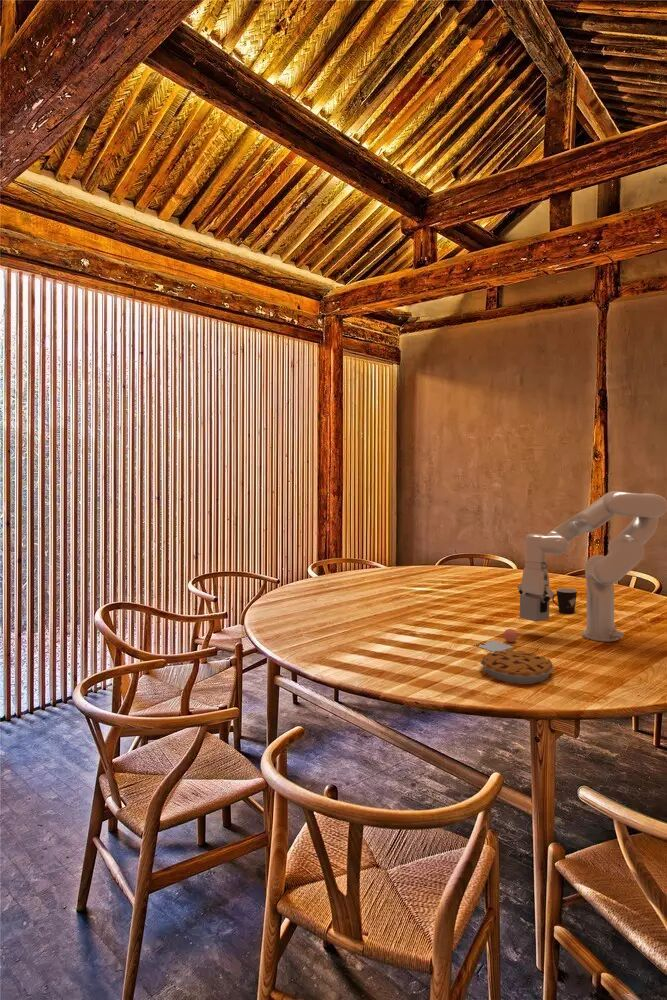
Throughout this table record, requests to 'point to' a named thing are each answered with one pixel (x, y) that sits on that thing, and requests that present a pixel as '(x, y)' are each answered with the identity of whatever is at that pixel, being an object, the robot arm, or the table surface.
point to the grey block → (532, 608)
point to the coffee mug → (566, 600)
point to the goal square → (495, 646)
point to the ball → (510, 635)
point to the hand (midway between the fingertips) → (534, 609)
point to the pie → (517, 666)
